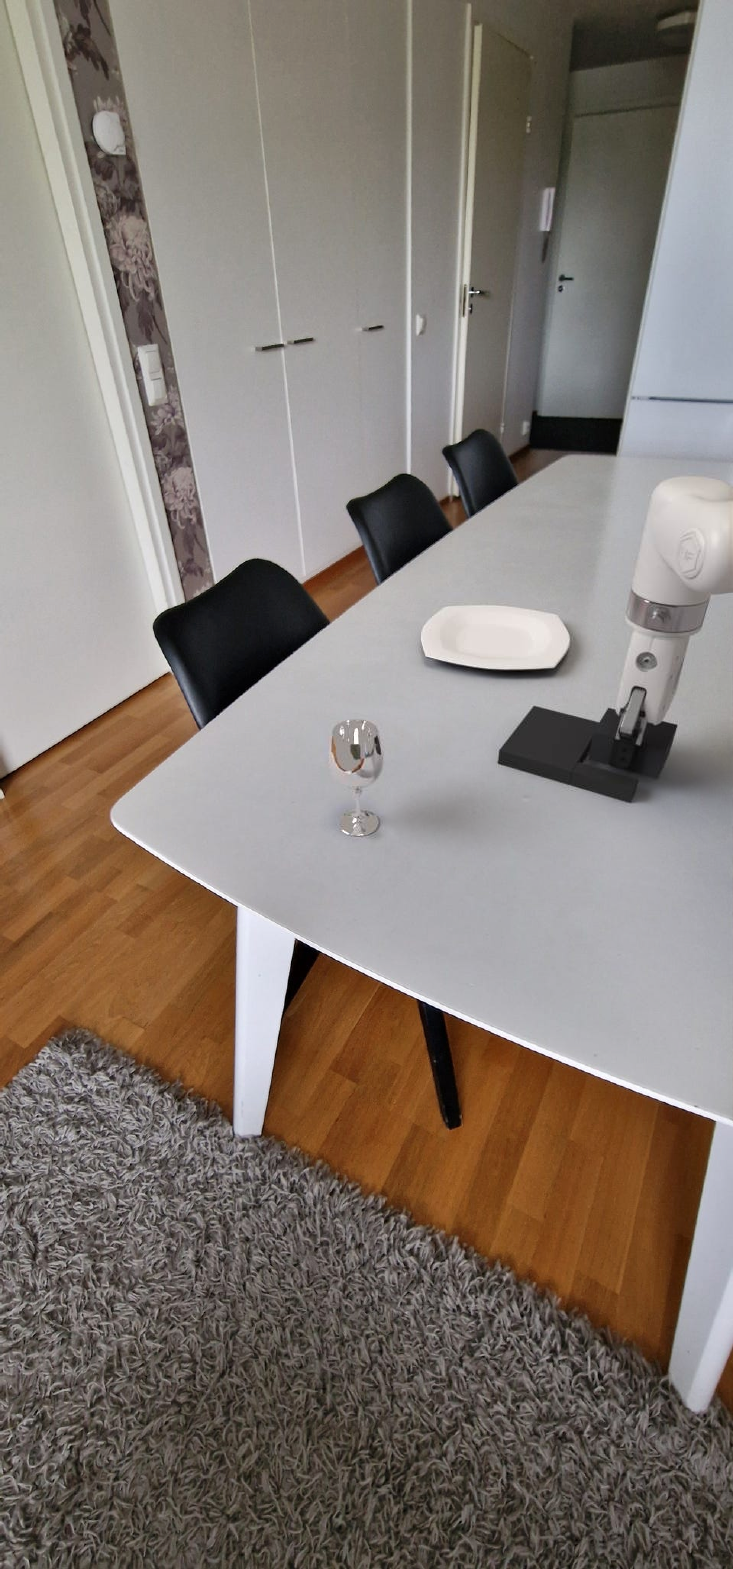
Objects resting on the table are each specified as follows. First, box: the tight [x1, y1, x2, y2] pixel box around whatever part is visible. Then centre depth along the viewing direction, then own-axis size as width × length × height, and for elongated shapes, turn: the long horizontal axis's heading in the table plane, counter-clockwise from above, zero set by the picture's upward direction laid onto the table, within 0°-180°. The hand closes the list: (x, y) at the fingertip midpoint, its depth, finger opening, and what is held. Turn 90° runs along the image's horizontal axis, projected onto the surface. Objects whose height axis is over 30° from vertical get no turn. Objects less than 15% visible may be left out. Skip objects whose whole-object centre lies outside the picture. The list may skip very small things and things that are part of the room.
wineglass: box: [327, 718, 385, 837], centre depth 74 cm, size 6×6×12 cm
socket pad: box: [497, 705, 639, 803], centre depth 86 cm, size 16×12×2 cm
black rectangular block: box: [587, 707, 679, 780], centre depth 82 cm, size 8×6×4 cm
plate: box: [420, 604, 571, 671], centre depth 111 cm, size 23×23×2 cm
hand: (630, 752), depth 83 cm, fingers closed on black rectangular block, 6 cm apart
